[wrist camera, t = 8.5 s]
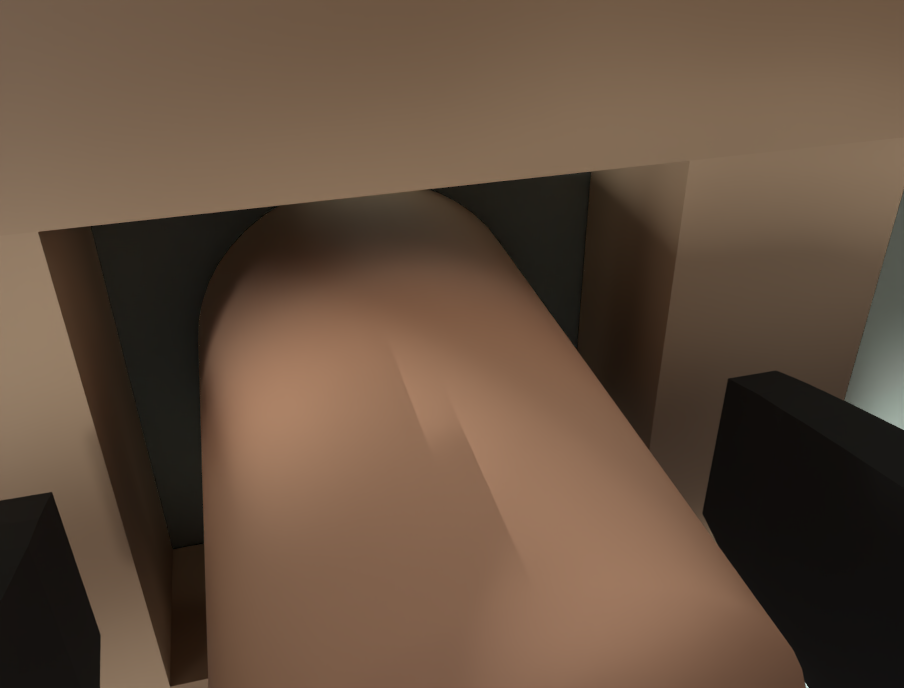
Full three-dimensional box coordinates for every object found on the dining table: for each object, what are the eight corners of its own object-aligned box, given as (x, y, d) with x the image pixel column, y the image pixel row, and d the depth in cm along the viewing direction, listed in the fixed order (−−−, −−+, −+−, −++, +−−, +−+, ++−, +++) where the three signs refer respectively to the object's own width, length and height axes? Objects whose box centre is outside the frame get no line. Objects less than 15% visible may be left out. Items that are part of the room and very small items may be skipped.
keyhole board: (696, 562, 17) (768, 669, 15) (26, 706, 14) (-2, 860, 12) (837, -164, 10) (1000, -154, 8) (-340, -134, 8) (-534, -110, 6)
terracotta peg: (515, 431, 14) (754, 881, 8) (227, 485, 13) (264, 1035, 7) (521, 161, 11) (867, 525, 6) (167, 203, 10) (147, 690, 5)
